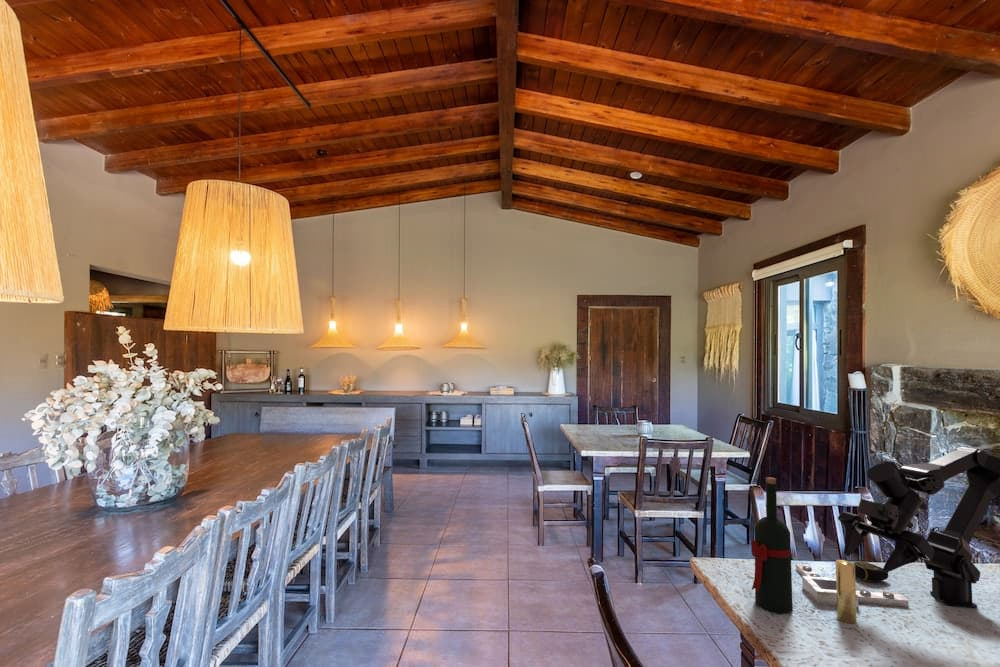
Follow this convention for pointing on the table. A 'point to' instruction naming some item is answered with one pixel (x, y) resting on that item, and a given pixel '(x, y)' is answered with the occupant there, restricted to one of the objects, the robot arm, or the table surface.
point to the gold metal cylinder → (846, 591)
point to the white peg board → (827, 595)
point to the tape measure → (869, 572)
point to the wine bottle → (772, 558)
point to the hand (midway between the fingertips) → (864, 562)
